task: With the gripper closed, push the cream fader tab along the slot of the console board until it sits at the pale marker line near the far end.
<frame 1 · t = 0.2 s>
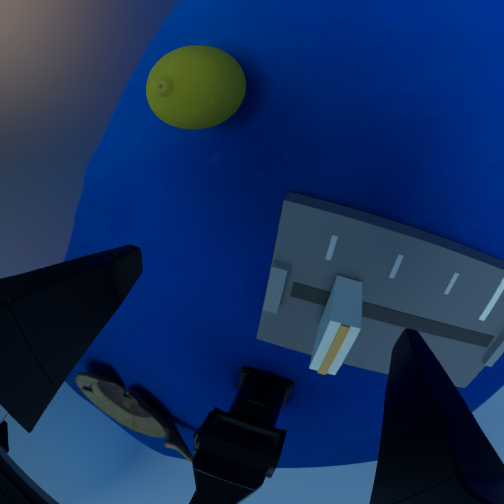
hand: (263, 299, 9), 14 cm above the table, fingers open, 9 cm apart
lemon: (225, 88, 19), on the table
fader tab: (336, 326, 20), point 5 cm above the table, slide at 0.0 cm
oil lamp: (140, 401, 53), on the table
console: (404, 305, 22), on the table
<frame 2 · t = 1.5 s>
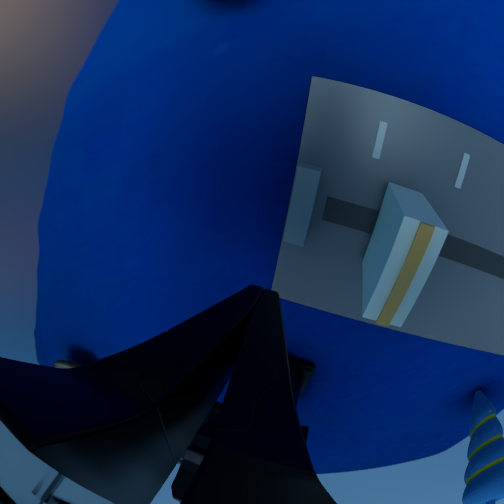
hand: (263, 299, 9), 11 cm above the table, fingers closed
fader tab: (397, 250, 13), point 5 cm above the table, slide at 0.0 cm
ornament: (478, 388, 20), on the table
console: (464, 241, 15), on the table
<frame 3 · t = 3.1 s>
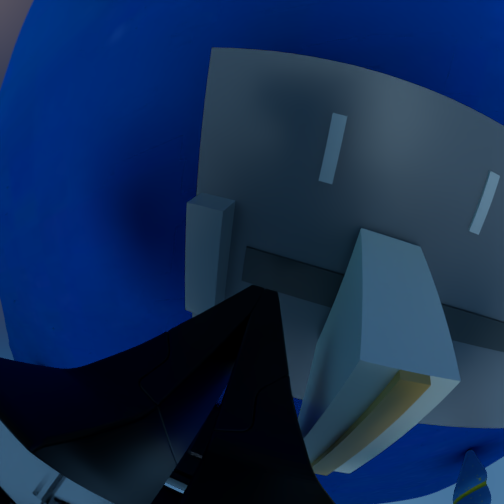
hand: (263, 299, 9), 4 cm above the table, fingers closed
fader tab: (362, 359, 7), point 5 cm above the table, slide at 0.4 cm, touching gripper
ornament: (470, 447, 15), on the table
console: (473, 302, 10), on the table
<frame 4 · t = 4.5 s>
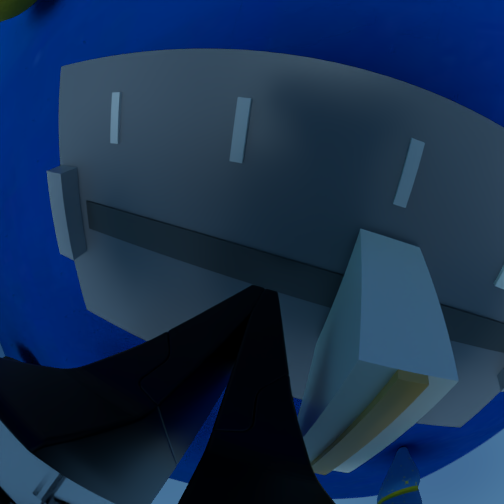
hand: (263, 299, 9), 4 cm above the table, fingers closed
fader tab: (361, 359, 7), point 5 cm above the table, slide at 8.1 cm, touching gripper
ornament: (403, 444, 16), on the table
console: (315, 254, 11), on the table
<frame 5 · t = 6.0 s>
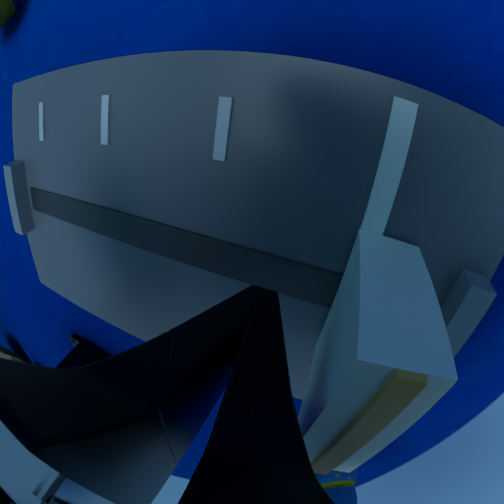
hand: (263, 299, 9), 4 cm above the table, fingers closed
lemon: (16, 11, 9), on the table
fader tab: (361, 359, 7), point 5 cm above the table, slide at 13.6 cm, touching gripper
ornament: (343, 435, 18), on the table
console: (190, 220, 13), on the table
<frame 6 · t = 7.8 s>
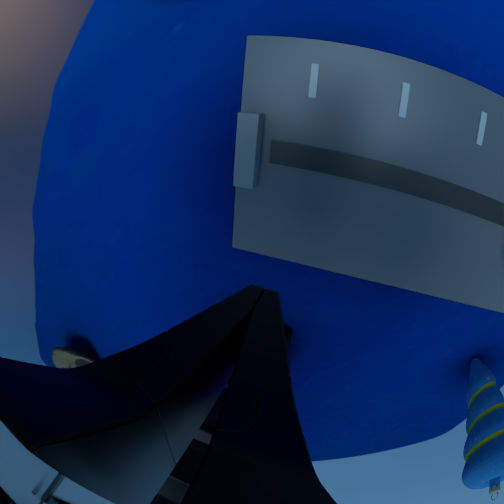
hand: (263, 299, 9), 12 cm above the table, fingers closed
ornament: (474, 356, 20), on the table
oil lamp: (122, 384, 47), on the table
console: (428, 181, 15), on the table
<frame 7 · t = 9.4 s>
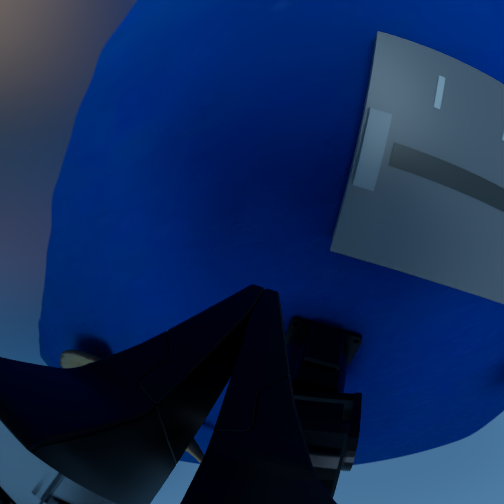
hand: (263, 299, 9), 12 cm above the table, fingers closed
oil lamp: (138, 390, 44), on the table
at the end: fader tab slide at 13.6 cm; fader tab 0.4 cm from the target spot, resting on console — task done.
